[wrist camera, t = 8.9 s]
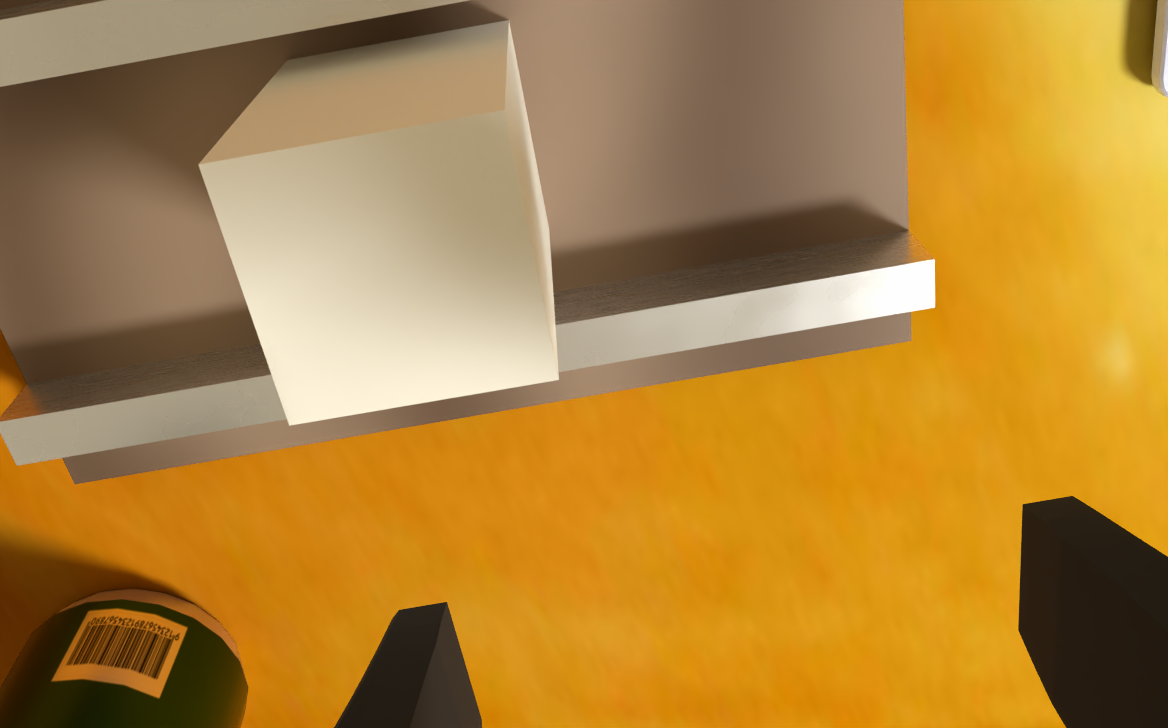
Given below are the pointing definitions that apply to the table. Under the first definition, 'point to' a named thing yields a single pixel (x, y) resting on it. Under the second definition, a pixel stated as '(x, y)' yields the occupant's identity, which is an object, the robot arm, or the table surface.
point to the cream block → (390, 225)
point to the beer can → (126, 667)
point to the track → (568, 182)
